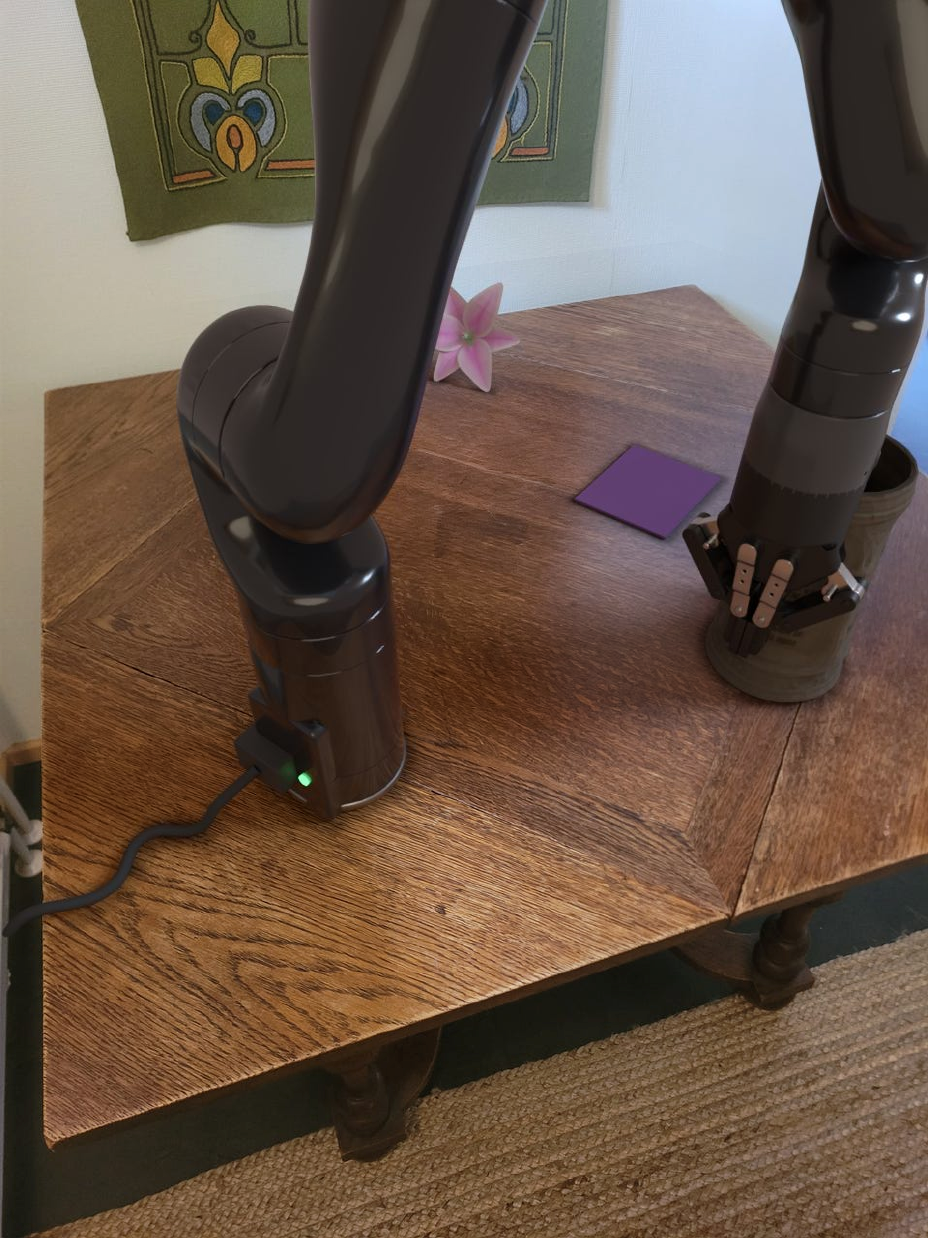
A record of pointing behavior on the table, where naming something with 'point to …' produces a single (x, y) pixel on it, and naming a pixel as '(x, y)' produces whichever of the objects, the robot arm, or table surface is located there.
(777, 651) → the beer stein
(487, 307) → the lily
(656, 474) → the cloth
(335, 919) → the table surface
